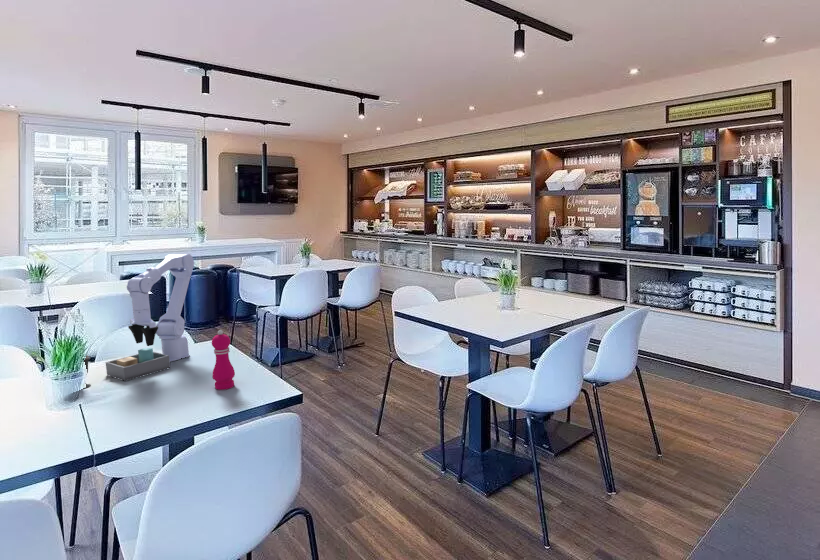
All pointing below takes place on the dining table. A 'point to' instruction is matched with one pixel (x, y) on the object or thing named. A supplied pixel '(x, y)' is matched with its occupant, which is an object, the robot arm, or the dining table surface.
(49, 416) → the dining table surface
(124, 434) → the dining table surface
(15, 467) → the dining table surface
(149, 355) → the teal block
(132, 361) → the oak cube
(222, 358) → the pepper mill
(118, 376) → the tote
